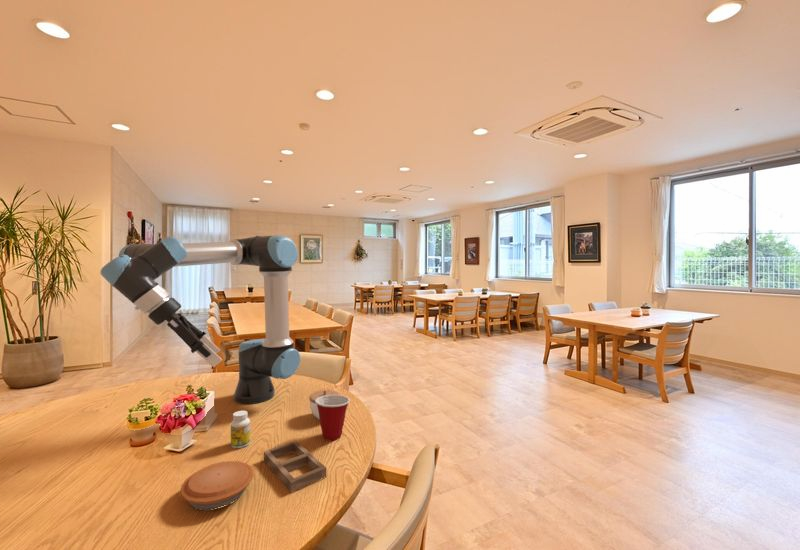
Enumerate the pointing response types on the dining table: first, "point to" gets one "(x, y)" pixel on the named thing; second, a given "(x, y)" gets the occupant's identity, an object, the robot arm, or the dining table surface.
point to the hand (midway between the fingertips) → (217, 358)
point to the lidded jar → (315, 395)
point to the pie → (217, 484)
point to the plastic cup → (332, 415)
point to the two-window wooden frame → (294, 465)
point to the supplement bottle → (240, 430)
